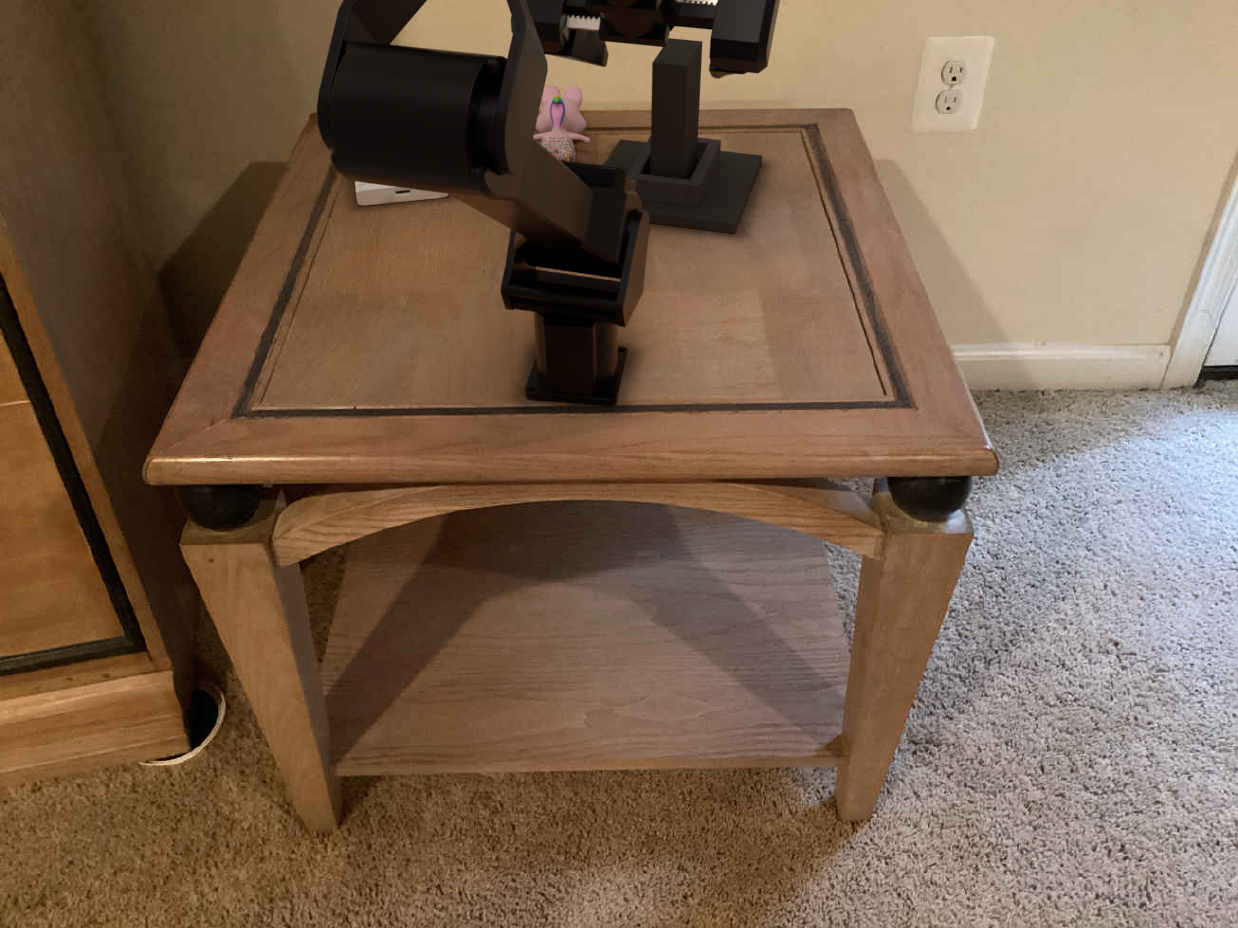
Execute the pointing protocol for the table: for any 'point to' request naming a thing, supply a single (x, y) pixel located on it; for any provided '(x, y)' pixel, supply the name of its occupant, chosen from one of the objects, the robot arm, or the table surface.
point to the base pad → (692, 185)
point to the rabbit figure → (561, 122)
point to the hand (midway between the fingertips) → (661, 66)
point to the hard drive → (390, 194)
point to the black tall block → (675, 109)
